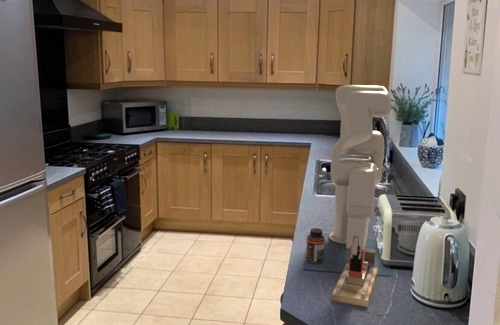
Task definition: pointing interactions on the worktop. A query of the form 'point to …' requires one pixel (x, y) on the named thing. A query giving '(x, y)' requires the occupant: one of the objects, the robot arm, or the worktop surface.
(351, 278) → the handle
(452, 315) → the worktop surface
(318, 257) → the supplement bottle
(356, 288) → the base
